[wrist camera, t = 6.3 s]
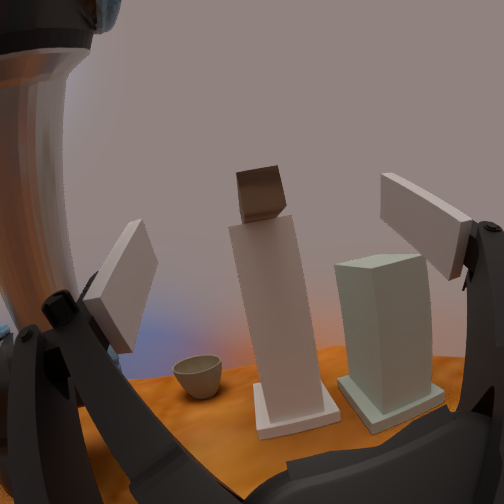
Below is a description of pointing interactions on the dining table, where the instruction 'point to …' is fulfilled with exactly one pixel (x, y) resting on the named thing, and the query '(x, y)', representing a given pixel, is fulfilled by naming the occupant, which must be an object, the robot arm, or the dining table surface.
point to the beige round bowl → (199, 375)
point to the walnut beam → (260, 194)
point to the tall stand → (280, 330)
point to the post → (387, 338)
